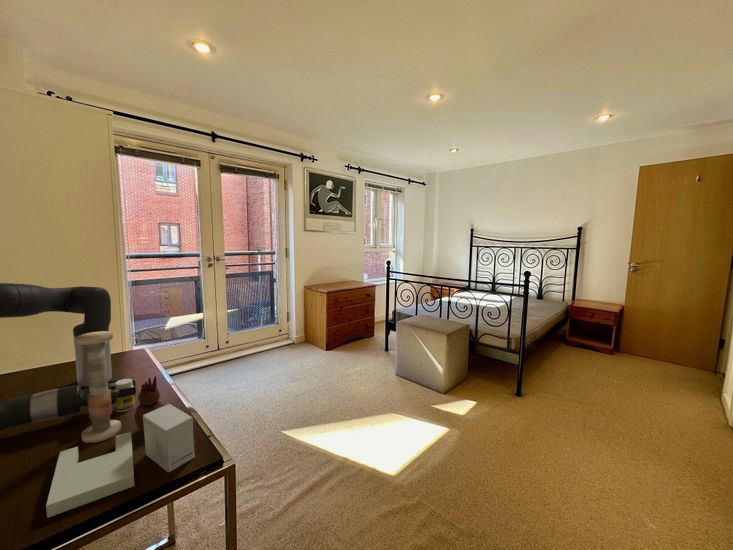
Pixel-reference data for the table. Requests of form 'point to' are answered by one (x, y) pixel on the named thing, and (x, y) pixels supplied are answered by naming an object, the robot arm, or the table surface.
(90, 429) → the bobbin post
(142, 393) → the wooden figurine
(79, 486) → the notched board
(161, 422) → the skincare box
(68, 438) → the table surface
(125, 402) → the supplement bottle
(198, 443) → the table surface
